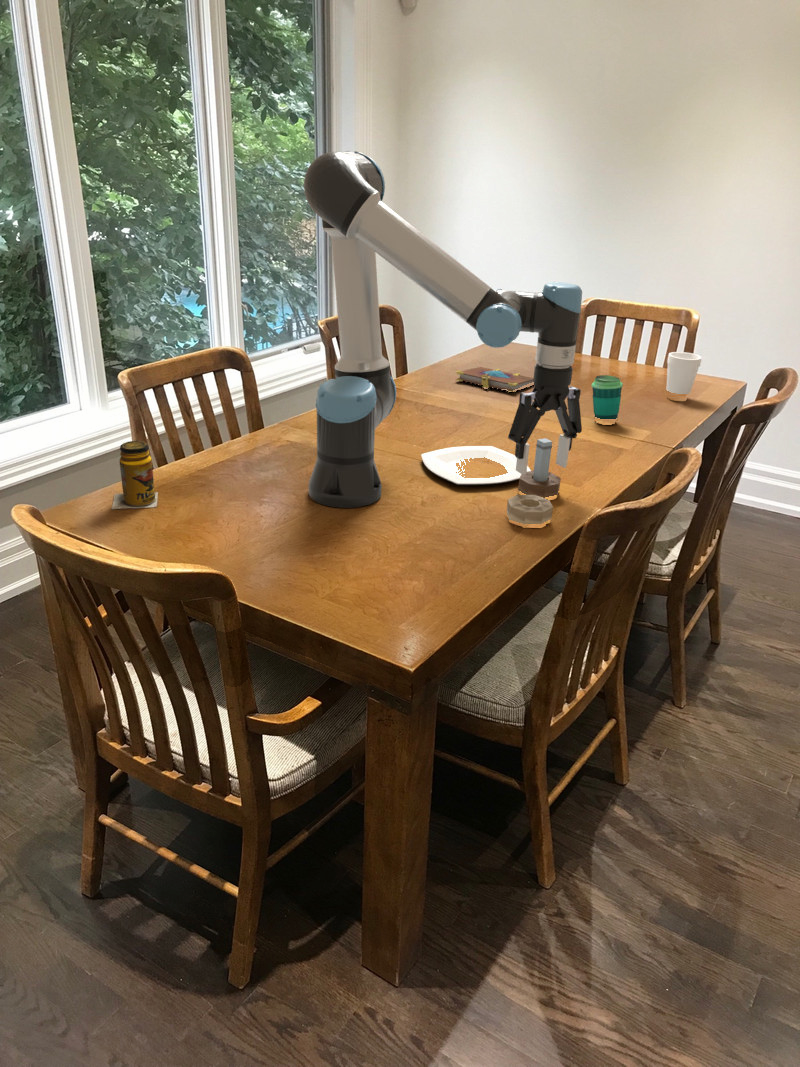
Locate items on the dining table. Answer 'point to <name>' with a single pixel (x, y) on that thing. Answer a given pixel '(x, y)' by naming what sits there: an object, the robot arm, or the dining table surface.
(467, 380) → the book
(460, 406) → the dining table surface
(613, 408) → the cup
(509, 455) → the plate
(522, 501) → the maple bead
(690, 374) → the foam cup
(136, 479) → the condiment
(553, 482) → the walnut bead
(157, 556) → the dining table surface
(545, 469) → the long pale blue brick
